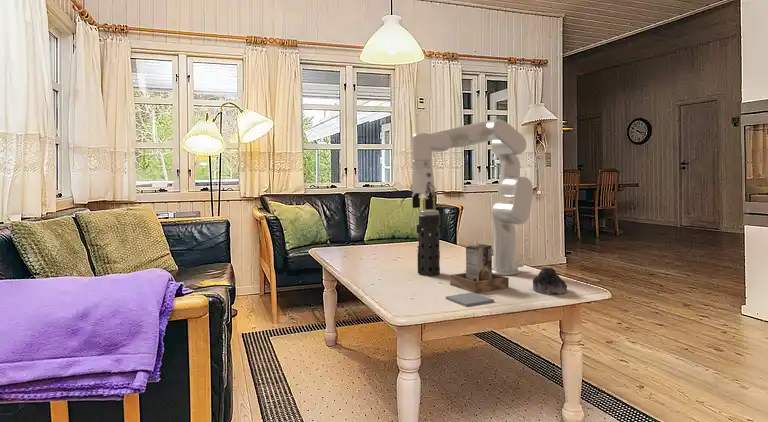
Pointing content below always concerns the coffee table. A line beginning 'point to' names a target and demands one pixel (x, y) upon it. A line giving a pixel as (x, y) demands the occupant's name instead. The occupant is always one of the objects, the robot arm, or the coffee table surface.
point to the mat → (469, 299)
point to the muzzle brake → (429, 243)
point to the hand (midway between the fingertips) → (422, 208)
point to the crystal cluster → (549, 282)
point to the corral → (479, 283)
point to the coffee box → (479, 262)
